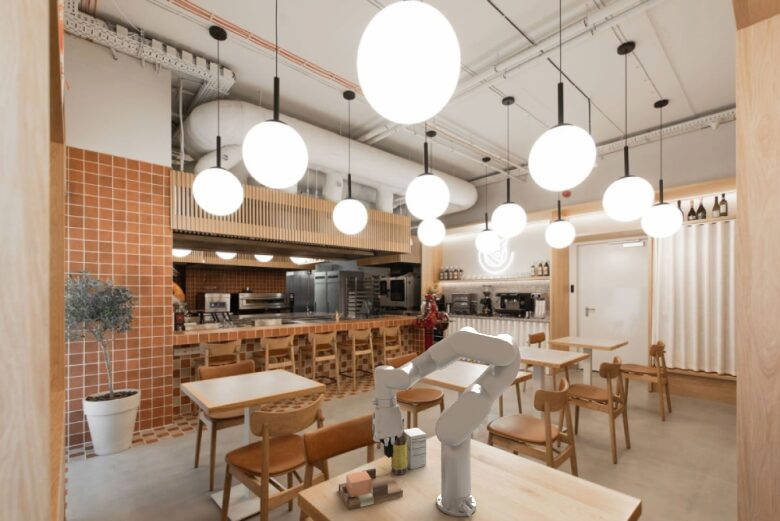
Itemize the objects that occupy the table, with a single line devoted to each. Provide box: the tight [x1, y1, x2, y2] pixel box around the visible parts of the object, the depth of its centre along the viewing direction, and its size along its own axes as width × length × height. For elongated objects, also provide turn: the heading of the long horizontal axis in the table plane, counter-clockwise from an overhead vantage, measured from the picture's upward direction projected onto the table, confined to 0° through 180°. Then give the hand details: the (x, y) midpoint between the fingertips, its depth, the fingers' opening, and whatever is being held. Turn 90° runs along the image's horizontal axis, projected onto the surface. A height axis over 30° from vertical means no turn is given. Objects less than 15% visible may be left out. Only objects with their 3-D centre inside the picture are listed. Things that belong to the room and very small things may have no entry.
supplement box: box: [404, 427, 427, 470], centre depth 147 cm, size 7×7×13 cm
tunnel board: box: [338, 467, 404, 511], centre depth 125 cm, size 12×19×5 cm, turn 113°
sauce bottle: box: [390, 416, 408, 475], centre depth 141 cm, size 6×6×20 cm
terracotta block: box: [345, 470, 372, 498], centre depth 123 cm, size 6×7×4 cm
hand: (388, 456), depth 128 cm, fingers closed
